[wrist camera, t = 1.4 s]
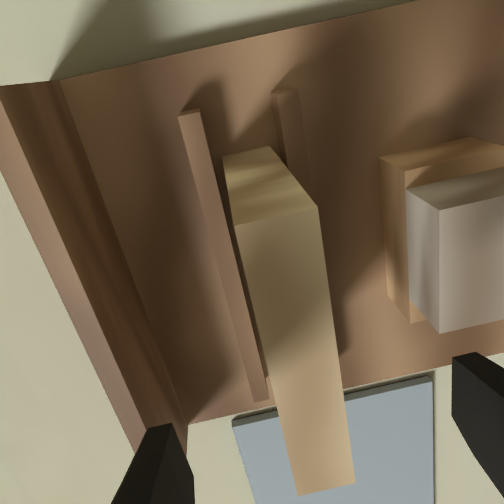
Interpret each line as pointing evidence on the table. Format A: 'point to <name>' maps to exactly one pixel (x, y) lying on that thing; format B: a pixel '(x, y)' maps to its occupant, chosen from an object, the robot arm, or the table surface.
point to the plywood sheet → (292, 314)
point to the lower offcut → (416, 174)
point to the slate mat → (353, 450)
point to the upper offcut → (457, 250)
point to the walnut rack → (217, 199)
